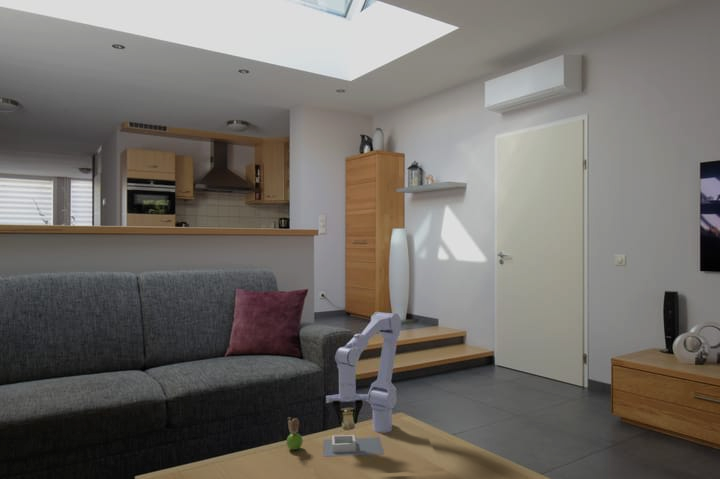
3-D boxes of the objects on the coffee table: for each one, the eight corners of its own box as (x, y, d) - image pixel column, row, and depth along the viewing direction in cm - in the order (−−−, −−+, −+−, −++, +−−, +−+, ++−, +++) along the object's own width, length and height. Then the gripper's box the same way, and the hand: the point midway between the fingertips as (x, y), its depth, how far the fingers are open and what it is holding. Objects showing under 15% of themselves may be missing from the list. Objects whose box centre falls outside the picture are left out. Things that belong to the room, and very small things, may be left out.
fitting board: (323, 442, 175) (323, 432, 175) (379, 440, 177) (379, 430, 177) (323, 459, 161) (323, 448, 161) (384, 457, 163) (384, 446, 163)
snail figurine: (282, 452, 168) (281, 416, 168) (291, 445, 174) (291, 410, 174) (296, 454, 166) (295, 418, 166) (305, 447, 172) (305, 412, 172)
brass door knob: (341, 425, 171) (340, 408, 171) (355, 424, 172) (354, 407, 172) (341, 430, 166) (340, 412, 166) (356, 429, 167) (355, 411, 167)
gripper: (326, 386, 165) (326, 427, 164) (369, 385, 166) (370, 426, 166) (325, 381, 172) (326, 420, 171) (367, 379, 173) (367, 418, 173)
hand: (347, 422), depth 169 cm, fingers closed on brass door knob, 5 cm apart
